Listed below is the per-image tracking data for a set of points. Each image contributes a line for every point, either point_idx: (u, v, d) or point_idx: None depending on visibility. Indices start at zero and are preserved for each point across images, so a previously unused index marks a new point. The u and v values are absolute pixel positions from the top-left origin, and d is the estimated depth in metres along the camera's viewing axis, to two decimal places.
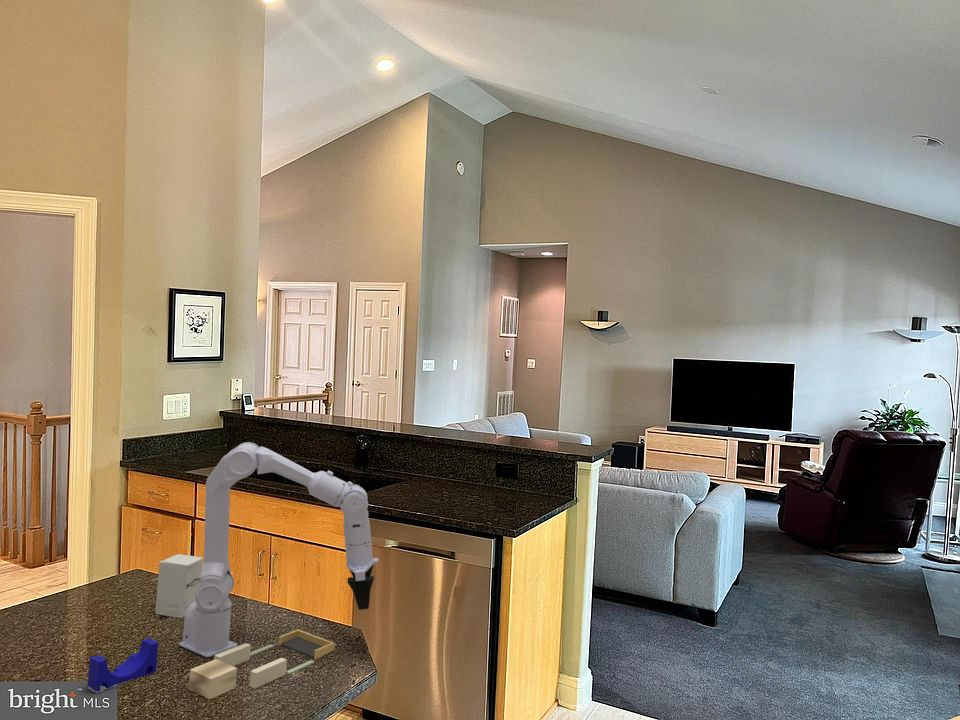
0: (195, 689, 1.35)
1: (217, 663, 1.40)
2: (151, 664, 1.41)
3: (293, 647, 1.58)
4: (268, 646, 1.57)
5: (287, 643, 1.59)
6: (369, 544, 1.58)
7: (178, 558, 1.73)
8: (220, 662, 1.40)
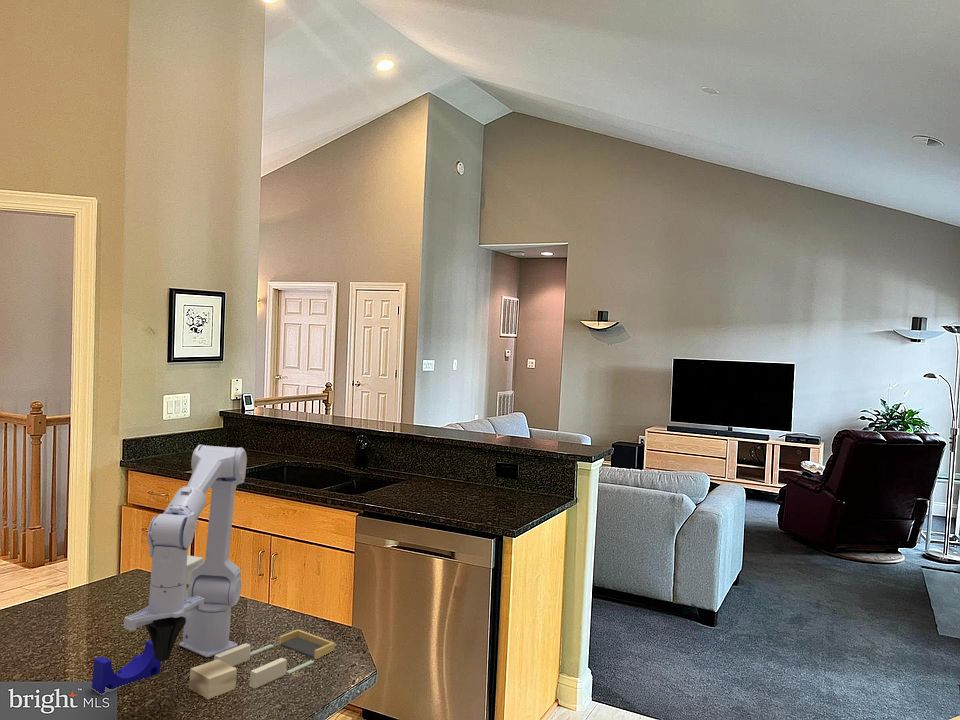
0: (195, 688, 1.35)
1: (218, 663, 1.40)
2: (155, 665, 1.41)
3: (293, 647, 1.58)
4: (268, 646, 1.57)
5: (287, 643, 1.59)
6: (169, 590, 1.25)
7: None
8: (221, 662, 1.40)
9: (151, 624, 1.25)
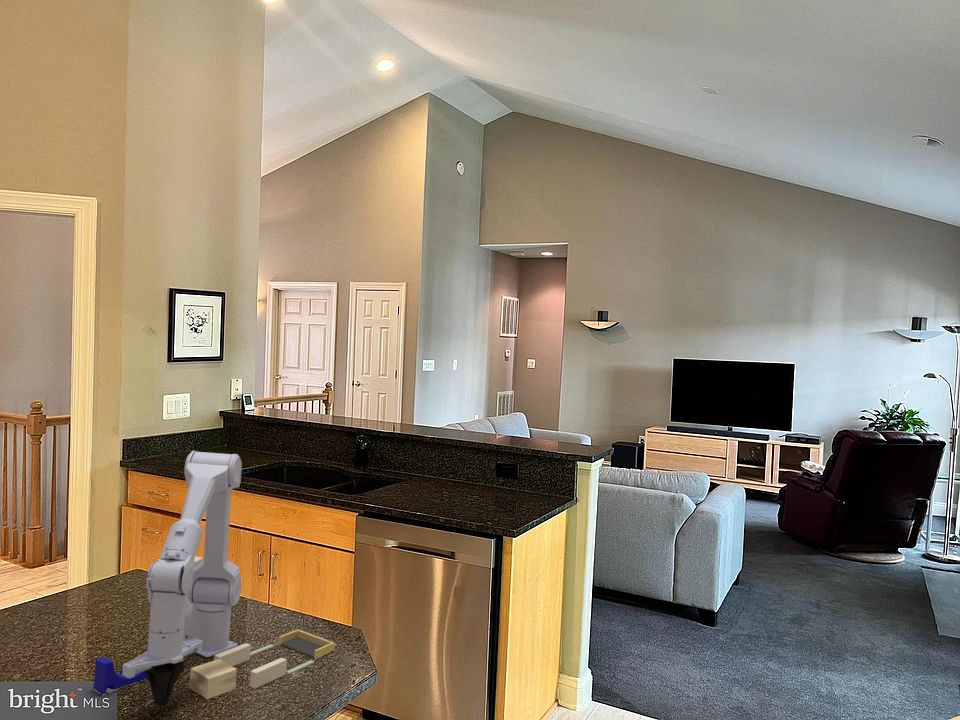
0: (195, 688, 1.36)
1: (218, 663, 1.40)
2: None
3: (293, 647, 1.58)
4: (268, 646, 1.57)
5: (287, 643, 1.59)
6: (167, 636, 1.25)
7: None
8: (222, 662, 1.40)
9: (150, 670, 1.25)
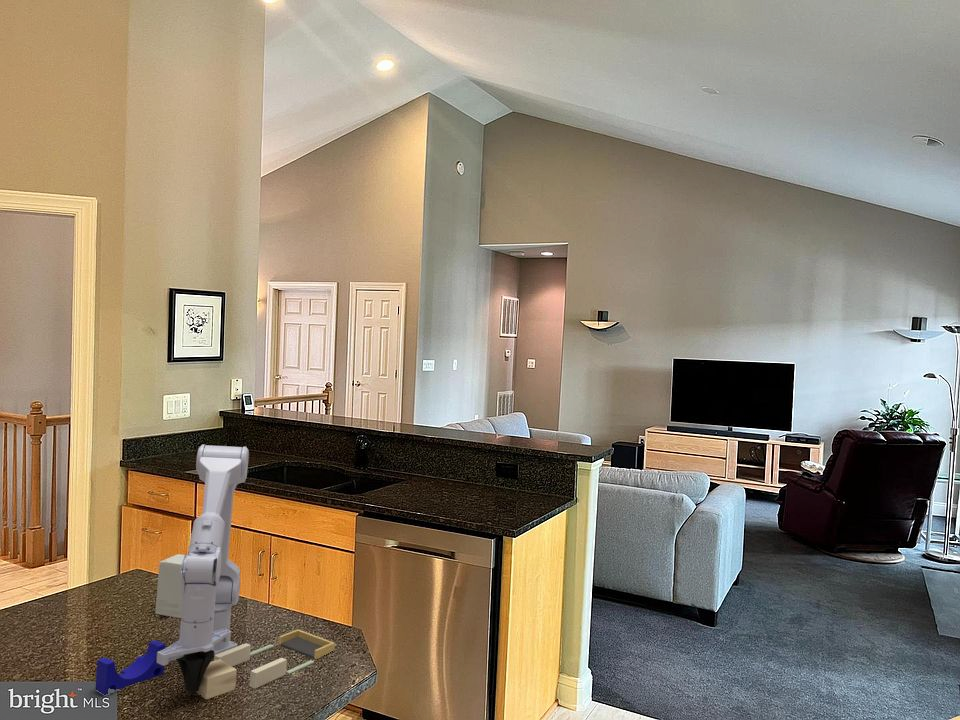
0: None
1: (219, 663, 1.40)
2: (158, 666, 1.41)
3: (293, 647, 1.58)
4: (268, 646, 1.57)
5: (287, 643, 1.59)
6: (199, 625, 1.31)
7: (178, 558, 1.73)
8: (222, 662, 1.40)
9: (182, 658, 1.31)
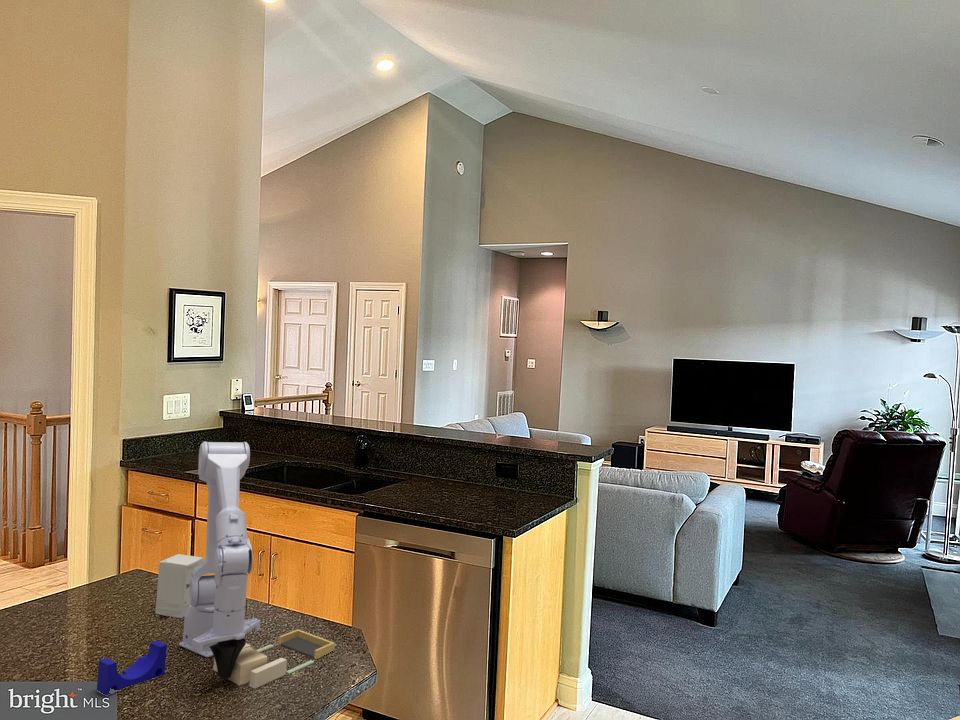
0: None
1: (249, 650, 1.46)
2: (160, 666, 1.40)
3: (293, 647, 1.58)
4: (268, 646, 1.57)
5: (287, 643, 1.59)
6: (231, 614, 1.37)
7: (178, 558, 1.73)
8: (253, 650, 1.46)
9: (215, 645, 1.37)
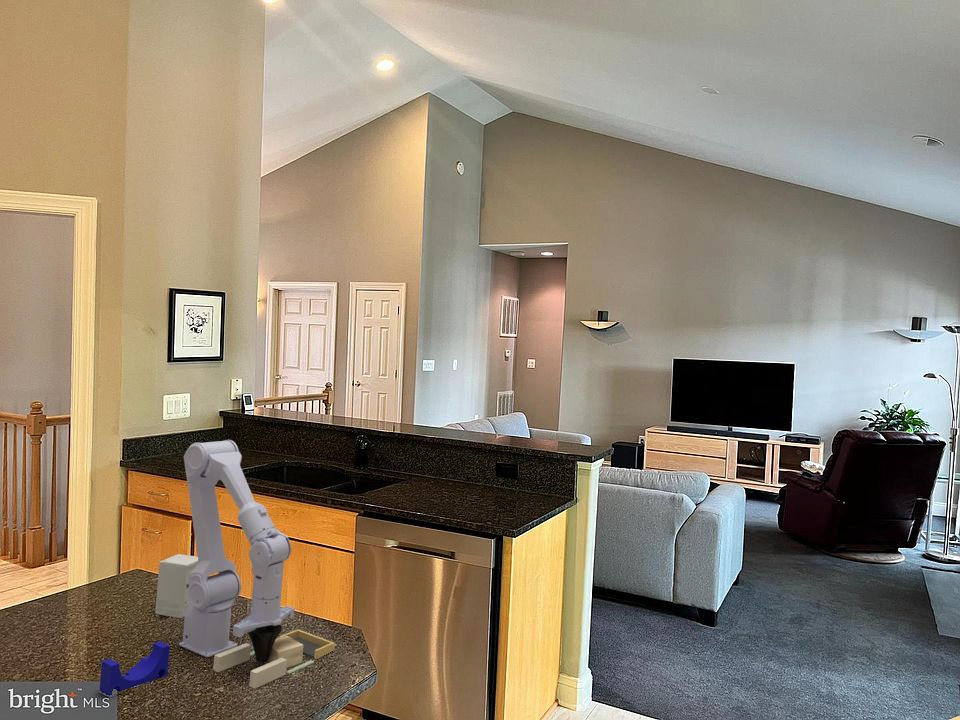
0: None
1: (286, 639, 1.53)
2: (162, 667, 1.40)
3: None
4: None
5: None
6: (269, 602, 1.45)
7: (178, 558, 1.73)
8: (289, 638, 1.54)
9: (254, 631, 1.45)
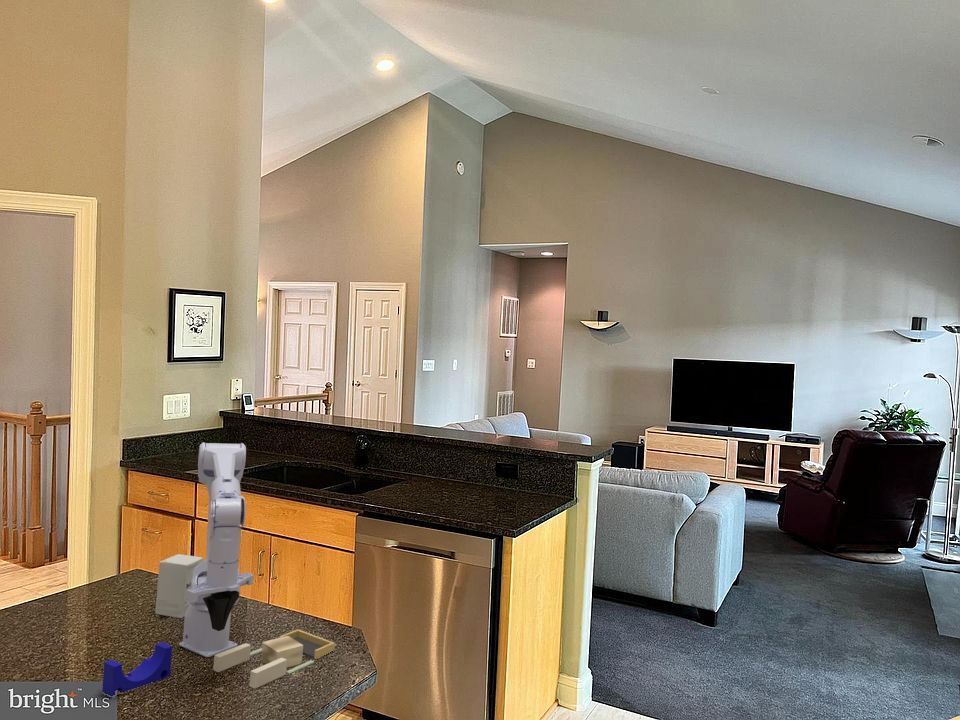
0: (266, 660, 1.49)
1: (287, 639, 1.53)
2: (165, 668, 1.40)
3: None
4: None
5: None
6: (225, 566, 1.38)
7: (178, 558, 1.73)
8: (290, 638, 1.54)
9: (209, 597, 1.39)
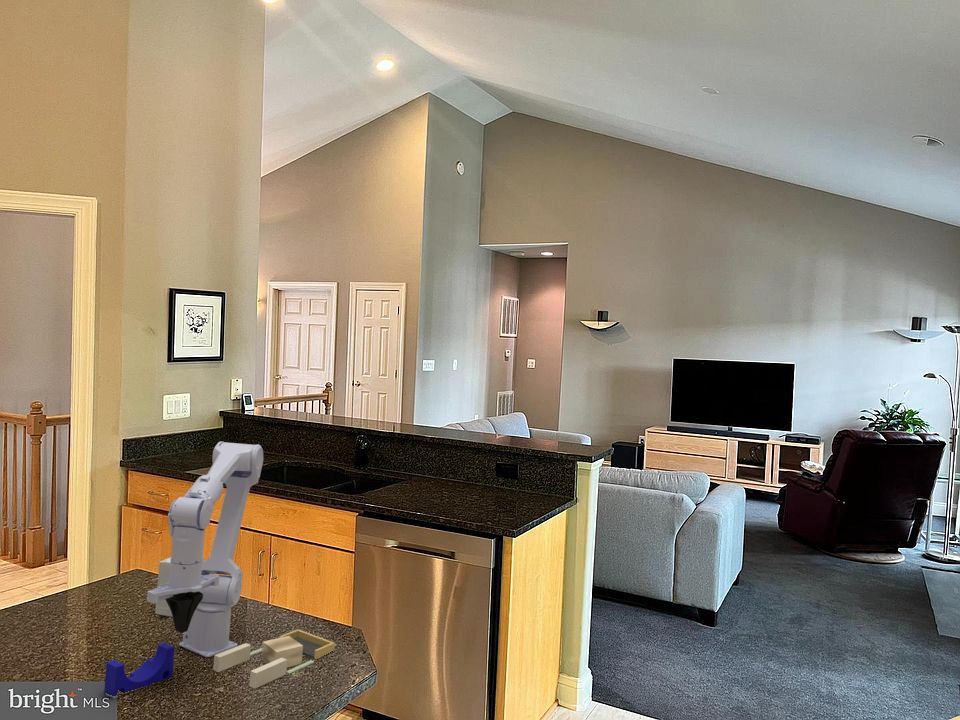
0: (266, 660, 1.50)
1: (287, 639, 1.53)
2: (167, 669, 1.40)
3: None
4: None
5: None
6: (188, 567, 1.36)
7: None
8: (291, 639, 1.54)
9: (171, 598, 1.36)
